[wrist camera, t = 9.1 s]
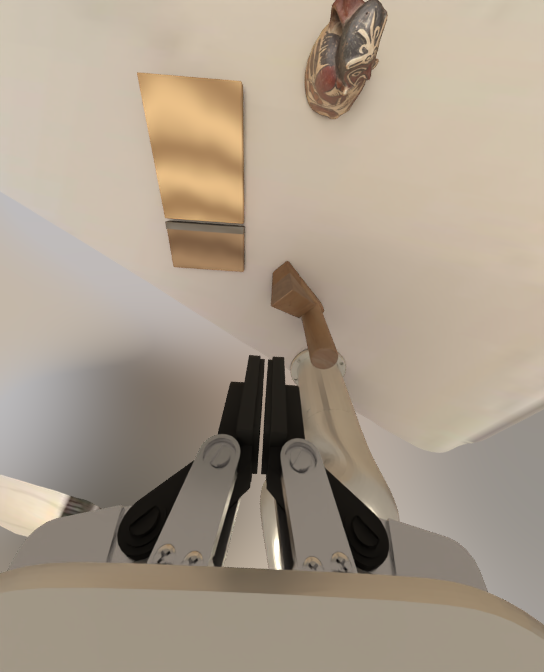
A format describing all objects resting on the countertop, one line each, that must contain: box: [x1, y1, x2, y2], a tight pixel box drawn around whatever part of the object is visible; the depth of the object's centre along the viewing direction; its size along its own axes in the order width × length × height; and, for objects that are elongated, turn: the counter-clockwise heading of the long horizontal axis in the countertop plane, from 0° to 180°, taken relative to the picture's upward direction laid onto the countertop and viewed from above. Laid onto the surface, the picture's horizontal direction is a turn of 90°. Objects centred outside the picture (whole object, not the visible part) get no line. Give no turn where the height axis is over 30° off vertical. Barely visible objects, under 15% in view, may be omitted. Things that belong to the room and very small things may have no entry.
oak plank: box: [137, 73, 244, 224], centre depth 31 cm, size 15×12×2 cm
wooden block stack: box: [271, 261, 338, 369], centre depth 34 cm, size 4×11×18 cm, turn 40°
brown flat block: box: [165, 221, 245, 272], centre depth 37 cm, size 7×12×2 cm, turn 86°
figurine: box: [305, 0, 388, 119], centre depth 22 cm, size 7×7×12 cm
